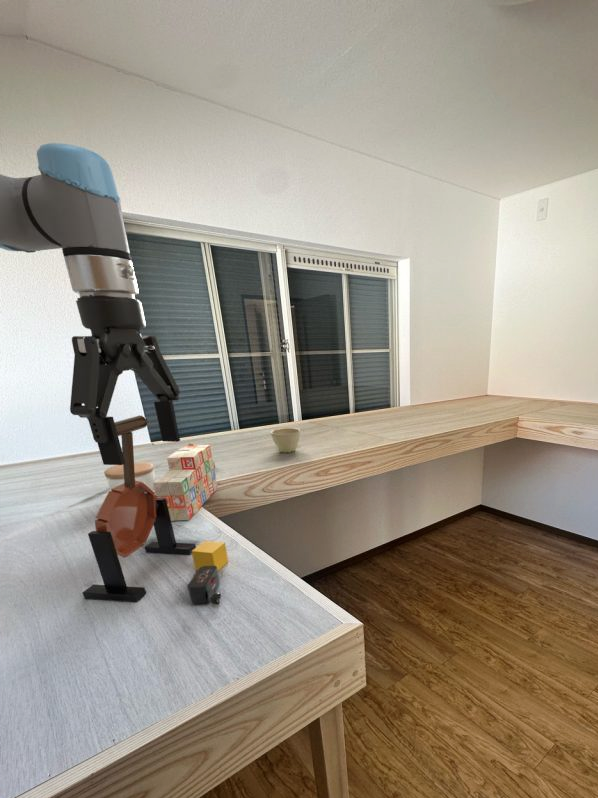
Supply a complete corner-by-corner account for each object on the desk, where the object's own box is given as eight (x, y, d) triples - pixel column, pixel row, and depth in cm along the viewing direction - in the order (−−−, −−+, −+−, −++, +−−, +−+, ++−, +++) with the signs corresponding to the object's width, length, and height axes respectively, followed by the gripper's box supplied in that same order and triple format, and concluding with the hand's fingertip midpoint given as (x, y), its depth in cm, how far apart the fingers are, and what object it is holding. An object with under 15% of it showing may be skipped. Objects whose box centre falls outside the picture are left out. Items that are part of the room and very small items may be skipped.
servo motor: (188, 608, 63) (184, 590, 62) (204, 582, 69) (200, 566, 68) (219, 607, 63) (215, 589, 62) (232, 581, 70) (229, 565, 68)
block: (216, 573, 72) (195, 570, 73) (228, 561, 76) (208, 559, 77) (212, 553, 71) (191, 550, 71) (224, 542, 74) (204, 540, 75)
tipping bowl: (83, 426, 56) (100, 430, 56) (144, 410, 68) (158, 413, 68) (97, 568, 66) (112, 571, 66) (149, 532, 78) (161, 535, 77)
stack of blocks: (189, 521, 93) (178, 468, 88) (160, 522, 92) (147, 469, 88) (218, 488, 112) (210, 443, 108) (194, 489, 112) (185, 444, 107)
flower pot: (277, 447, 153) (275, 428, 150) (304, 447, 153) (302, 428, 150) (269, 454, 144) (267, 434, 141) (298, 454, 143) (296, 434, 141)
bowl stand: (84, 598, 66) (62, 536, 61) (153, 546, 82) (139, 494, 77) (136, 602, 65) (118, 539, 60) (196, 548, 81) (185, 496, 76)
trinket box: (108, 496, 107) (98, 461, 104) (153, 487, 114) (145, 453, 110) (117, 508, 100) (106, 471, 96) (164, 497, 106) (156, 462, 103)
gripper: (55, 286, 44) (110, 477, 52) (186, 302, 67) (209, 434, 75) (-8, 288, 45) (56, 476, 53) (142, 303, 67) (170, 433, 76)
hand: (145, 451), depth 64 cm, fingers open, 13 cm apart
